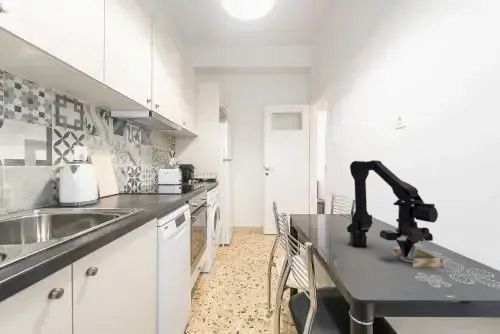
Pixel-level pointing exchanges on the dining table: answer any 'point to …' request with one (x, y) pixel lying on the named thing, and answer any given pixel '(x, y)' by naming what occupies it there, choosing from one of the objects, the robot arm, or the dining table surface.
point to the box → (422, 258)
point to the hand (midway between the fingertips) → (405, 256)
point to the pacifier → (410, 258)
